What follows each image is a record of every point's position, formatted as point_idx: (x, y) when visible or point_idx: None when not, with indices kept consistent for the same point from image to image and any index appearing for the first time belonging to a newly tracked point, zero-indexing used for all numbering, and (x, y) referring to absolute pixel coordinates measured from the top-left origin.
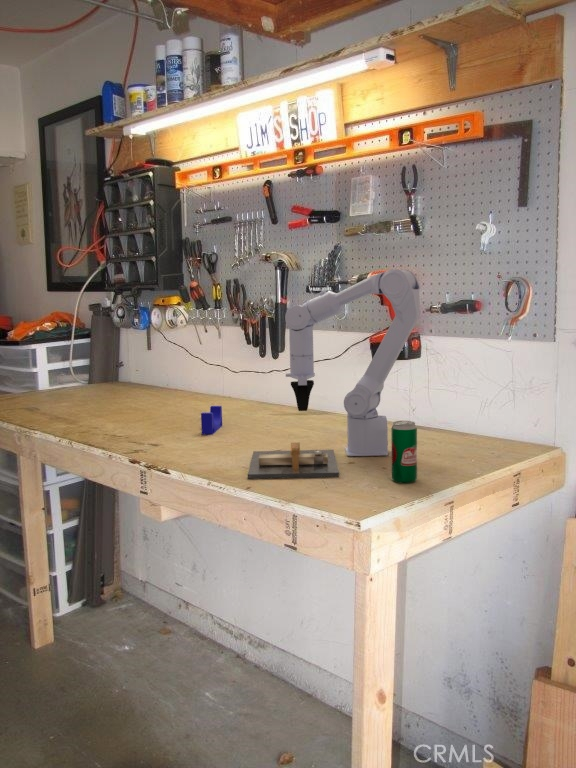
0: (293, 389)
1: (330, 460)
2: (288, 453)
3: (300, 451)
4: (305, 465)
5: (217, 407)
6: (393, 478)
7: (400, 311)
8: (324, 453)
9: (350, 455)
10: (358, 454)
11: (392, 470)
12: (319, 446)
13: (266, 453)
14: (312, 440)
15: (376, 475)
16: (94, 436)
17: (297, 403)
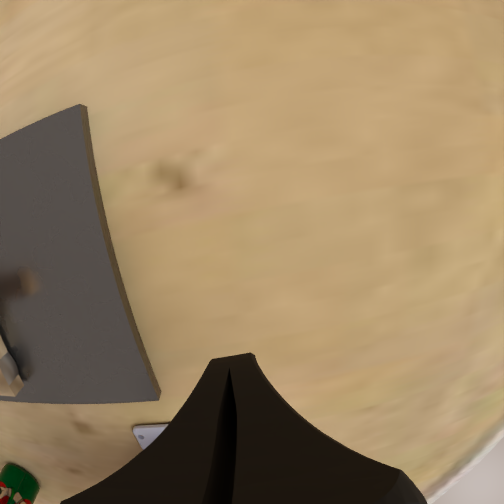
0: (93, 486)
1: (38, 391)
2: (65, 257)
3: (103, 297)
4: None
5: None
6: (5, 465)
7: None
8: (10, 390)
9: (134, 433)
10: (143, 449)
11: (1, 473)
12: (267, 336)
13: (52, 169)
14: (368, 291)
15: (24, 450)
16: None
17: (193, 392)
